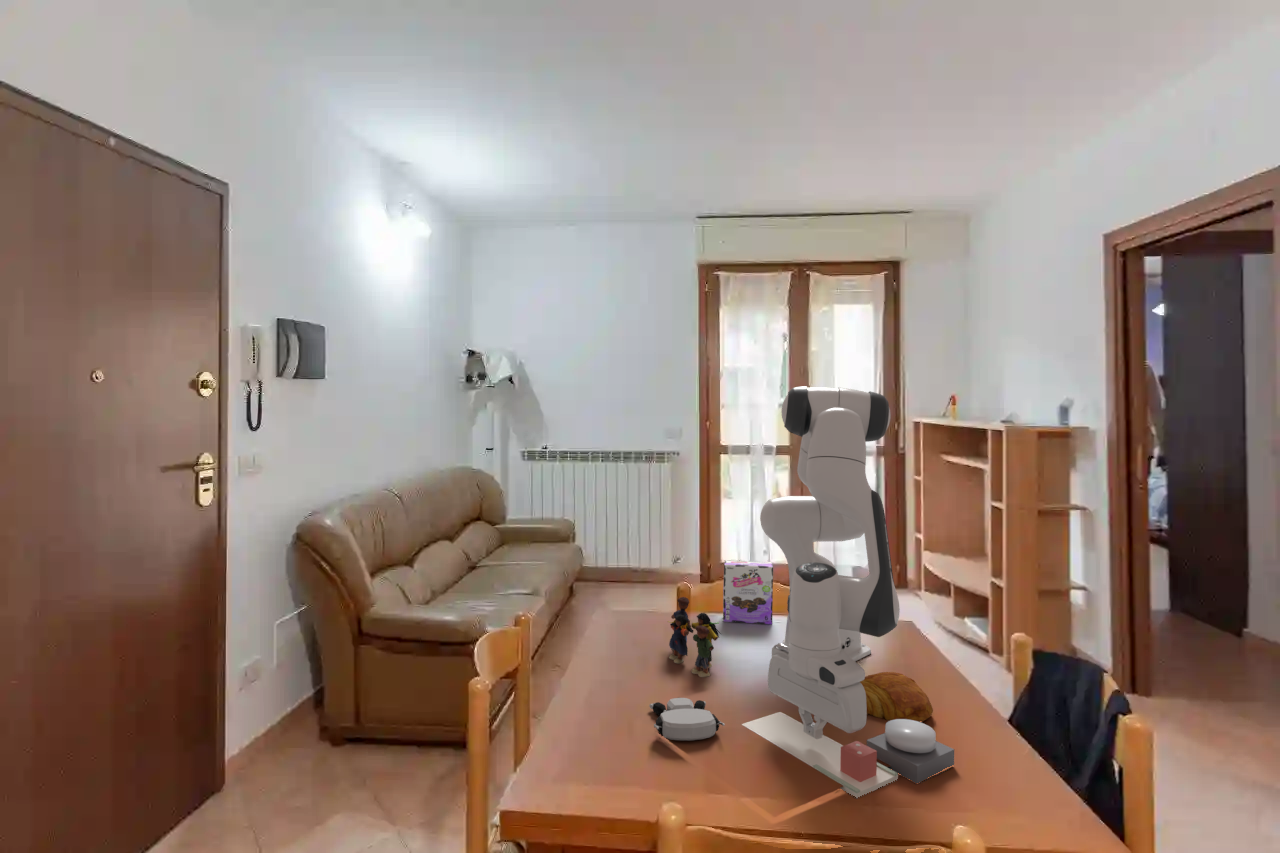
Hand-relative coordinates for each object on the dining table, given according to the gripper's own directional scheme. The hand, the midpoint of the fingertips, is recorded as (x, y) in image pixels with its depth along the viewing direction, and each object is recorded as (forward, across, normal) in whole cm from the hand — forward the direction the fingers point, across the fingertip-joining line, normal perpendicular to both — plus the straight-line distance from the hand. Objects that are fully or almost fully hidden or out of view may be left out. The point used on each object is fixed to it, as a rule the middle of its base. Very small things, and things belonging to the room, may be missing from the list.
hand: (812, 735), depth 120 cm
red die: (+2, +10, 0) cm, 10 cm away
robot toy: (+3, -18, -15) cm, 24 cm away
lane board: (+3, 0, -2) cm, 3 cm away
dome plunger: (+1, +11, +11) cm, 16 cm away
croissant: (+4, -3, +26) cm, 26 cm away
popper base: (+3, +11, +11) cm, 16 cm away
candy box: (+4, -62, +39) cm, 73 cm away
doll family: (+4, -46, +7) cm, 46 cm away
